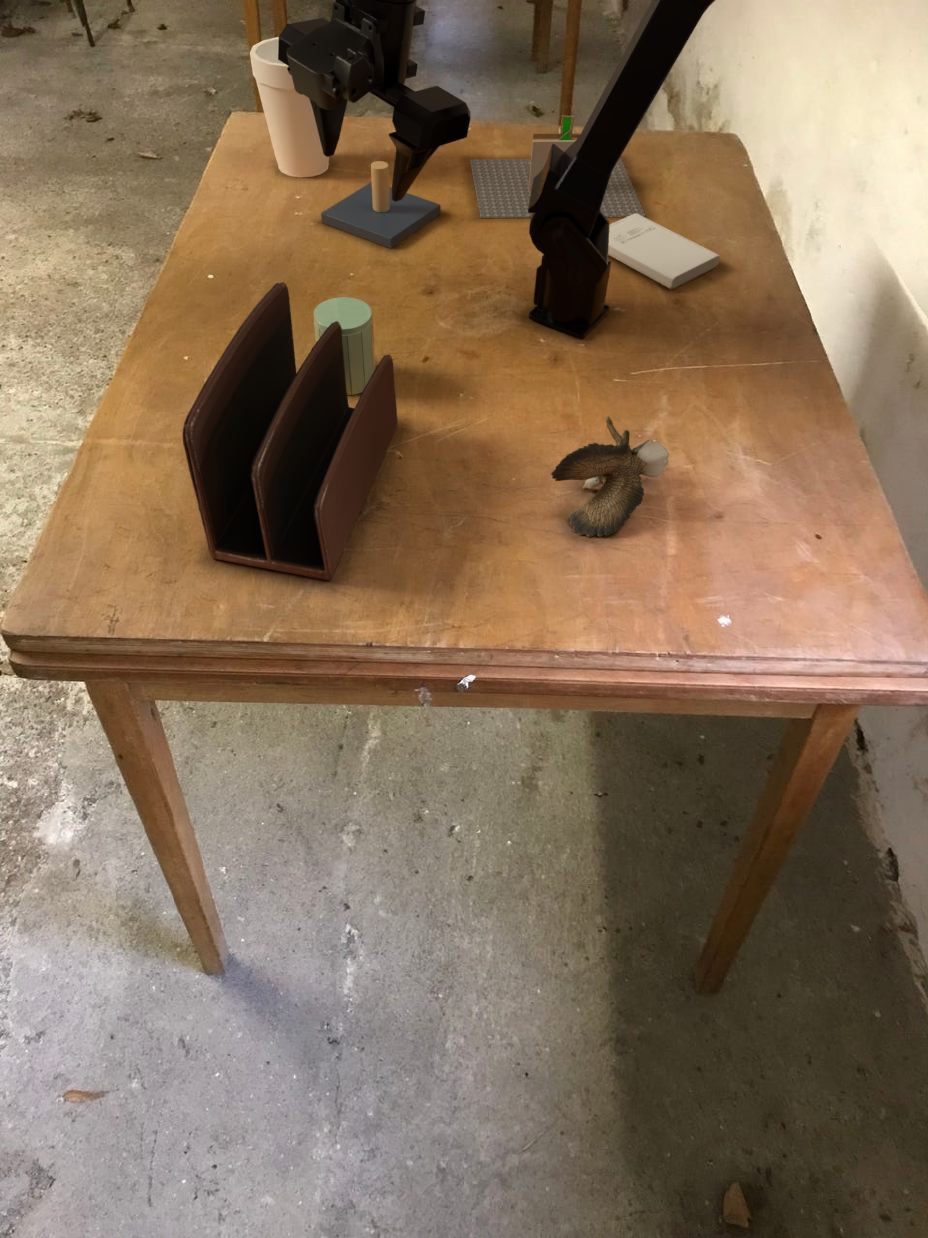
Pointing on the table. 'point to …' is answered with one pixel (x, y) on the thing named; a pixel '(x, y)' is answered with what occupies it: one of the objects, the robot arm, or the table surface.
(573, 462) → the eagle figurine
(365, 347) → the mint canister
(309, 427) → the letter holder
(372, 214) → the cup stand
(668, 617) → the table surface
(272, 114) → the foam cup
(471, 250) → the table surface
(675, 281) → the hard drive
